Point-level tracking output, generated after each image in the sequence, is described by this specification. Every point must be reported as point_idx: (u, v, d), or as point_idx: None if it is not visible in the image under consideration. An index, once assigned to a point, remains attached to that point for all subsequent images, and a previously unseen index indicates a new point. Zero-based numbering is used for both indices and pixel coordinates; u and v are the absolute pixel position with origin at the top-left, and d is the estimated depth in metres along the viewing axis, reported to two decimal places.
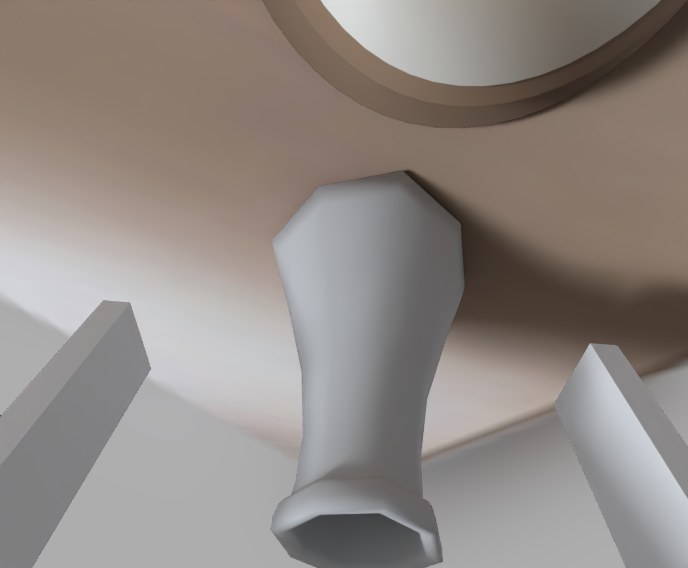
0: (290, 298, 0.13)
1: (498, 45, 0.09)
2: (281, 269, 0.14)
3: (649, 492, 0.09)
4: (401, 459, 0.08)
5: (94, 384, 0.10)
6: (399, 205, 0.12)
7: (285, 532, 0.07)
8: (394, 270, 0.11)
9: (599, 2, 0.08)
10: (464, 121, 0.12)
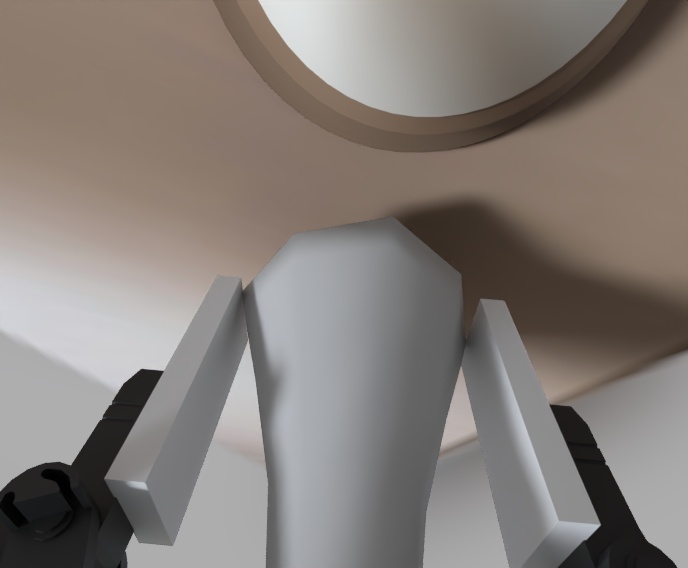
0: (259, 372, 0.10)
1: (448, 81, 0.10)
2: (250, 332, 0.11)
3: (503, 416, 0.10)
4: None
5: (222, 347, 0.11)
6: (389, 262, 0.10)
7: None
8: (384, 350, 0.09)
9: (536, 43, 0.09)
10: (426, 146, 0.12)
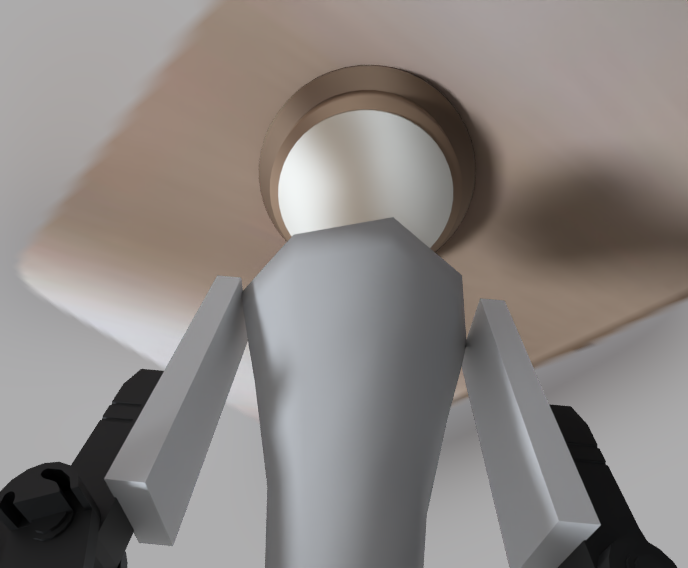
0: (258, 374, 0.10)
1: None
2: (249, 334, 0.11)
3: (503, 416, 0.10)
4: None
5: (222, 347, 0.11)
6: (389, 263, 0.10)
7: None
8: (384, 352, 0.09)
9: None
10: None
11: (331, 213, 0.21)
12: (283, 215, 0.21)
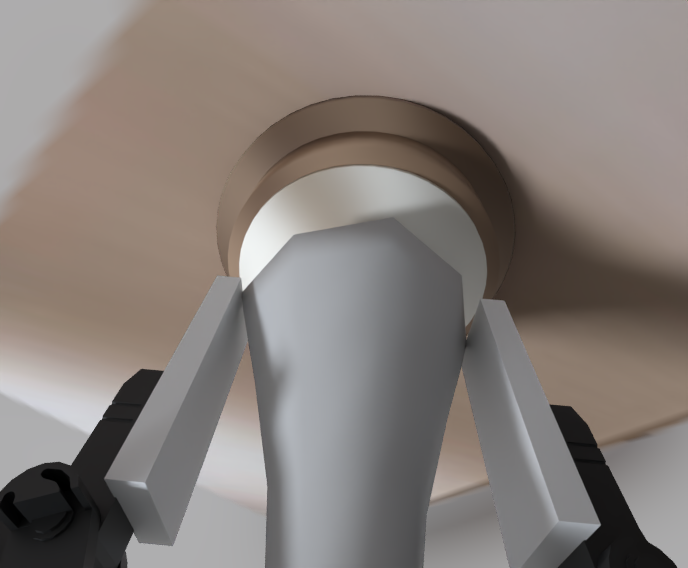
0: (258, 374, 0.10)
1: None
2: (249, 334, 0.11)
3: (503, 416, 0.10)
4: None
5: (222, 347, 0.11)
6: (389, 263, 0.10)
7: None
8: (384, 352, 0.09)
9: None
10: None
11: None
12: None
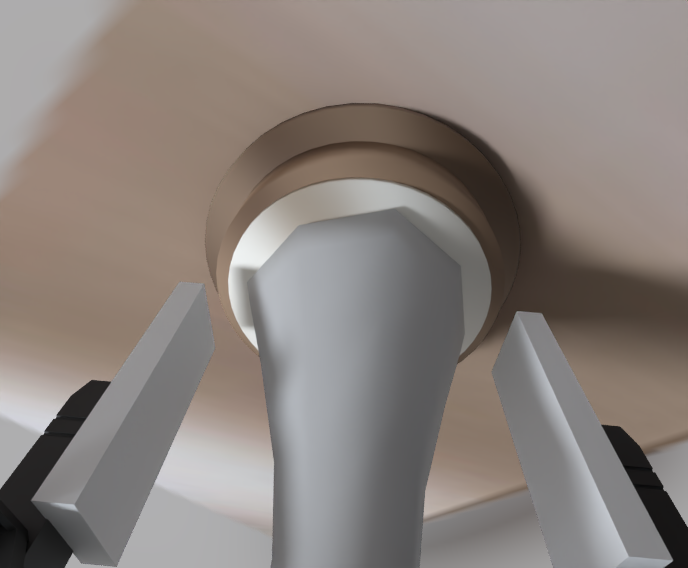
0: (264, 359, 0.11)
1: None
2: (255, 321, 0.12)
3: (550, 437, 0.10)
4: None
5: (180, 356, 0.11)
6: (391, 253, 0.10)
7: None
8: (385, 336, 0.09)
9: None
10: None
11: None
12: (238, 318, 0.15)
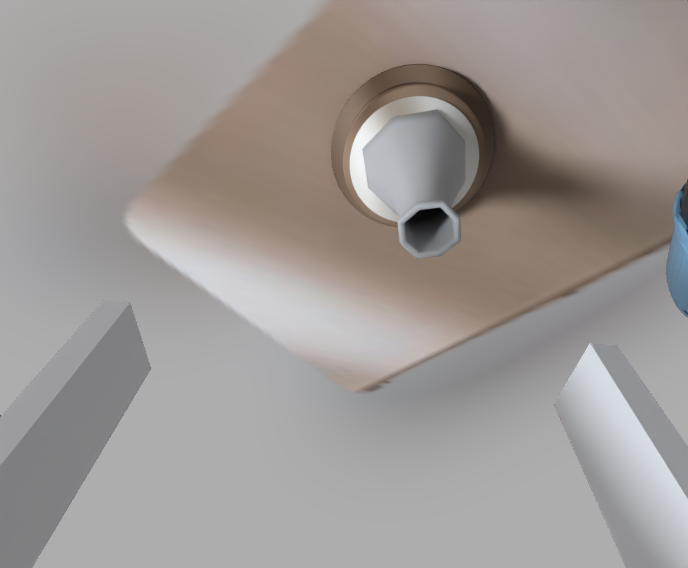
0: (380, 169, 0.25)
1: None
2: (372, 159, 0.26)
3: (649, 492, 0.09)
4: None
5: (94, 384, 0.10)
6: (436, 124, 0.25)
7: (402, 223, 0.20)
8: (436, 149, 0.23)
9: None
10: None
11: None
12: (351, 173, 0.29)
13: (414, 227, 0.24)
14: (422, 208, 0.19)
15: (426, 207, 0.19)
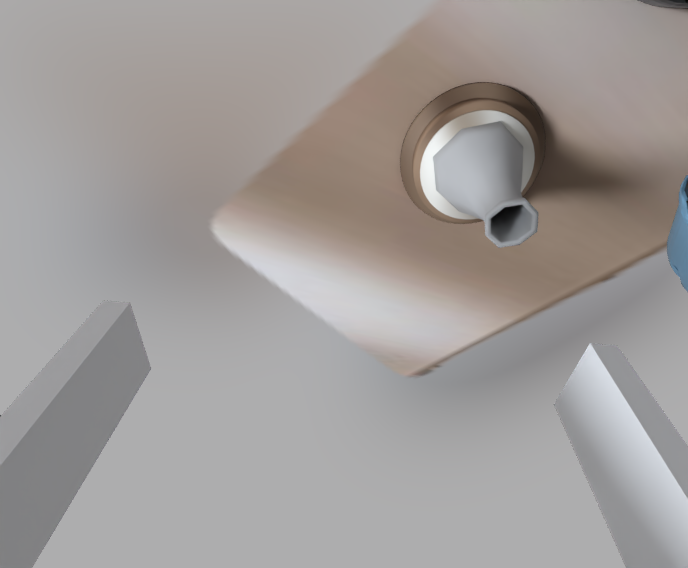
0: (454, 174, 0.29)
1: None
2: (445, 165, 0.30)
3: (649, 492, 0.09)
4: None
5: (94, 384, 0.10)
6: (502, 134, 0.29)
7: (490, 219, 0.24)
8: (505, 155, 0.28)
9: None
10: None
11: None
12: (421, 178, 0.33)
13: None
14: (507, 205, 0.24)
15: (510, 205, 0.24)
